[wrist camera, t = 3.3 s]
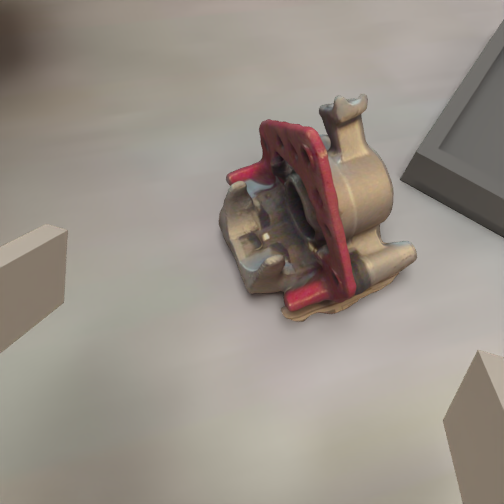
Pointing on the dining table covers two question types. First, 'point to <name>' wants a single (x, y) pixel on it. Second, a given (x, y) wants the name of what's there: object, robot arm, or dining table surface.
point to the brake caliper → (314, 215)
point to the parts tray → (468, 144)
